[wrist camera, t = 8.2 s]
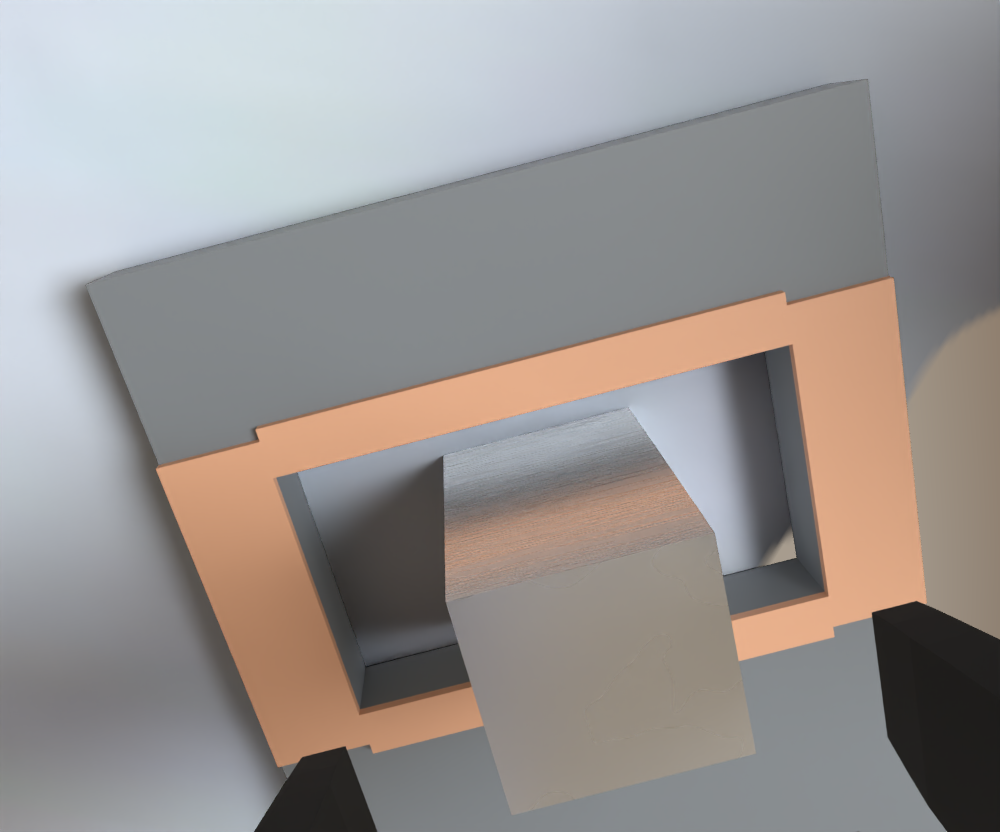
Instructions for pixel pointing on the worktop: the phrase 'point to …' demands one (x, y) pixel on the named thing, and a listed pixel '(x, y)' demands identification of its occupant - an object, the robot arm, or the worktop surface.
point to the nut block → (589, 612)
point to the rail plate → (537, 385)
